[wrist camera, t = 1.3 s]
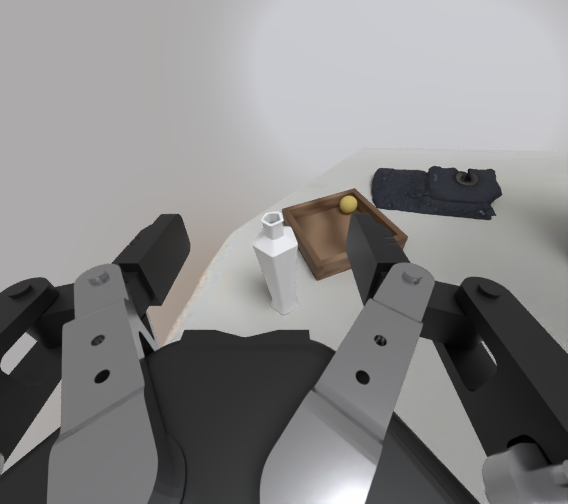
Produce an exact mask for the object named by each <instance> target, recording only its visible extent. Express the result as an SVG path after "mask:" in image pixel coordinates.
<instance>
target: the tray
mask: <svg viewBox="0 0 568 504" xmlns="http://www.w3.org/2000/svg"><path fill="white" fill-rule="evenodd" d="M345 196H353V197H354V198H355V199H356V200H357V208H356V210H355V211H353V212H352V213H370V214H371V216H372V218H373V220H374V221H375V223H381V224H382V225H383V226H385V227H386V228H388V229H389V230H390V232H391V233H392V235H393V236H394V238H395V239H396V241H397V244H399V246H400V247H401V249H402V250H403V248H404V245H405V243H406V241H407V238H408V236H407V235H406V234H405V233H403V232H402V231H401V230H400V229H399V228H398V227H397V226H396V225H395V224H393V223H392V222H391V221H390V220H389V219H388V218H387V217H386V216H385V215H384V214H382V213H381V212H380V211H379V210H378V209H377V208H376V207H375V206H374V205H372V204H371V203H370V202H369V201H368V200H367V199H366V198H365V197H364V196H362V195H361V194H360V193H359V192H358V191H357V190H356V189H355V188H354V189H351V190H347V191H344V192H340V193H337V194H333V195H330V196H326V197H323V198H319V199H316V200H312V201H308V202H305V203H301V204H298V205H294V206H291V207H287V208H284V209H282V213H283V219H284V221H283V222H284V224H285V226H289V227H291V228H292V230H293V233H294V235H295V238H296V240H297V243H298V248H299V250H300V252H301V254H302V255H303V257H304V259H305V261H306V262H307V264H308V266H309V268H310V269H311V271H312V273H313V275H314V276H315V278H316V280H320V279H323V278H326V277H329V276H332V275H334V274H337V273H340V272H343V271H346V270H349V269H352V268H351V265H350V262H349V259H348V256H347V253H346V239H347V233H348V228H349V223H350V218H351V215H352V213H344V212H343V211H342V210H341V209H340V201H341V199H342V198H344V197H345Z"/></svg>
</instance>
